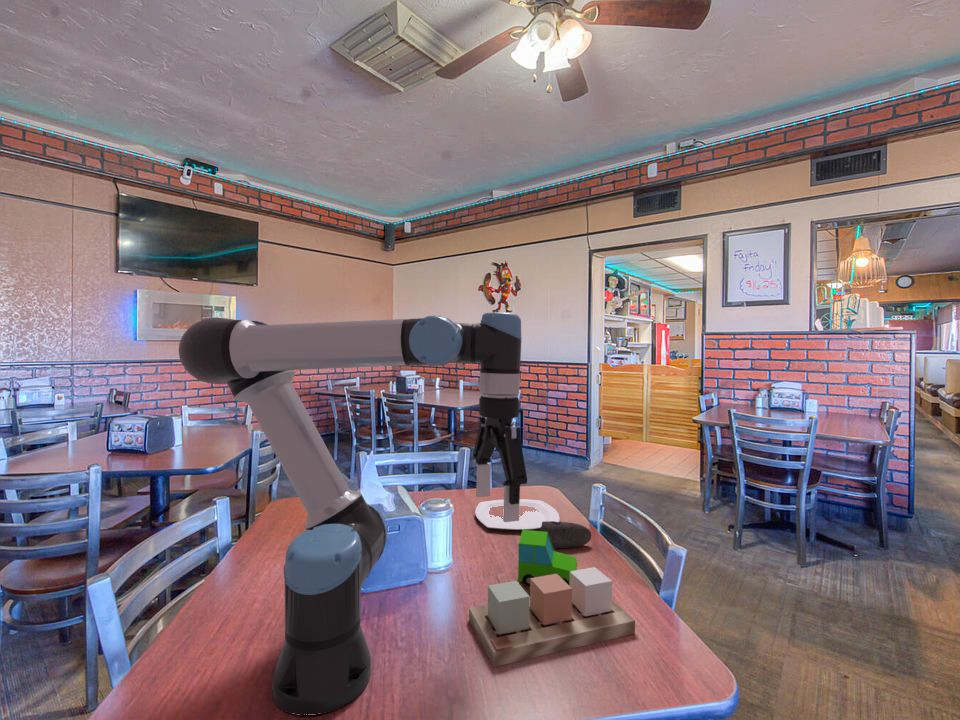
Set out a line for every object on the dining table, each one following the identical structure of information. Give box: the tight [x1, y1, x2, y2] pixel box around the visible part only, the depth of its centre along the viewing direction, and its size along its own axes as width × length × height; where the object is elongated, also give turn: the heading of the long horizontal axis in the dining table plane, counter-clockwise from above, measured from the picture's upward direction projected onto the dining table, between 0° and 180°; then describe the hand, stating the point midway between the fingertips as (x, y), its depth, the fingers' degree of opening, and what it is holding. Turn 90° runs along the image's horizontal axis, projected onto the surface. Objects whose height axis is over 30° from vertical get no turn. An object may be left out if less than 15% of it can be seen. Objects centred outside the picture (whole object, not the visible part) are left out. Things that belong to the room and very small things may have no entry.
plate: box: [474, 498, 561, 531], centre depth 145 cm, size 27×27×2 cm
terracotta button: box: [529, 574, 572, 626], centre depth 88 cm, size 6×6×6 cm
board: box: [468, 597, 636, 668], centre depth 88 cm, size 29×14×3 cm, turn 109°
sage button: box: [487, 580, 530, 636], centre depth 85 cm, size 6×6×6 cm
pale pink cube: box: [570, 566, 613, 617], centre depth 91 cm, size 6×6×6 cm
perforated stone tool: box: [539, 521, 592, 549], centre depth 124 cm, size 15×5×7 cm, turn 94°
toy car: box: [517, 529, 578, 588], centre depth 106 cm, size 10×13×10 cm
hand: (495, 507), depth 85 cm, fingers open, 13 cm apart
